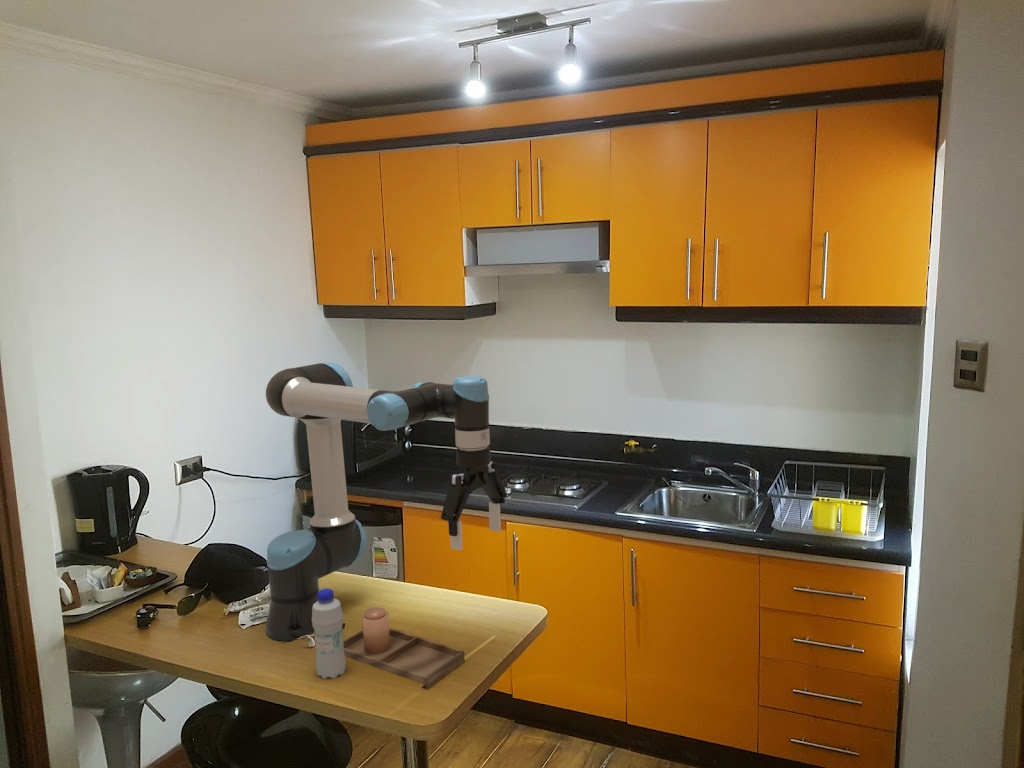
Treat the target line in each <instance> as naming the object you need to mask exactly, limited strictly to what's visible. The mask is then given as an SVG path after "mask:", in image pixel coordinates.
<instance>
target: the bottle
mask: <svg viewBox="0 0 1024 768" xmlns="http://www.w3.org/2000/svg"><path fill="white" fill-rule="evenodd" d="M334 596H335V595H334V591H333V589H331V588H327V587H326V588H322V589H319V592H318V601H317V602H316V603H314V605H313V608H312V623H313V624H312V626H313V628H314V642H315V655H316V656H315V668H316V669H315V670H316V674H317V676H319V677H321V679H323V680H326V679H328V678H330V679H336V678H337V677H338V676H342V675H344V673H345V670H346V668H347V662H346V656H345V653H344V646H343V641H344V635H343V633H344V632H343V631H344V630H343V624H344V612H343V609H342V604H341V601H340V600H339V599H337V598H334Z"/></svg>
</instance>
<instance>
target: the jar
mask: <svg viewBox="0 0 1024 768" xmlns="http://www.w3.org/2000/svg"><path fill="white" fill-rule="evenodd" d="M389 617H390V616H389V612H388V611H387V610H386V609H385V608H384V607H379V606H377V607H376V606H374V607H370V608H367V609H366V610H364V613H363V614H362V616H361V622H362V630H363V639H364V650H365V652H367V653H369V654H379V653H383V652H385V651H387V650H388V649H389V648H390V633H389V628H390V622H389V621H390V618H389Z"/></svg>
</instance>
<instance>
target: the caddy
mask: <svg viewBox="0 0 1024 768" xmlns="http://www.w3.org/2000/svg"><path fill="white" fill-rule="evenodd" d="M389 633H390V648H389V649H388V650H387V651H385V652H383V653H379V654H369V653H367V652H365V650H364V639H363V629H361V630H360V631H358V632H356V633H355V634H353V635H352V636H349V637H348V638H346V639H343V646H344V653H345V658H350V659H352V660H355V661H358V662H360V663H363V664H366V665H369V666H371V667H374V668H377V669H380V670H382V671H386V672H388V673H391V674H394V675H397V676H399V677H403V678H405V679H408V680H411V681H414V682H417V683H418V684H419V683H420V684H422V687H421V688H422V689H424V690H428V689H430V688H431V687H432V686H434V685H435V684H437V683H438V682H439V681H441V680H442V679H443V678H444V677H446V676H447V675H449V674H450V673H451V672H453V671H454V670H455V669H457V668H458V667H460V666H461V665H462V664H463V663H465V662H466V660H465V651H464V650H462V649H459V648H456V647H452V646H449V645H447V644H442V643H440V642H437V641H434V640H429V639H427V638H424V637H420V636H418V635H413V634H412V633H407V632H404V631H400V630H398V629H395V628H392V627H389Z"/></svg>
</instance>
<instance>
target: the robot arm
mask: <svg viewBox="0 0 1024 768" xmlns="http://www.w3.org/2000/svg"><path fill="white" fill-rule="evenodd" d="M452 383H453V384H448V383H447V384H446V383H440V382H439V383H437V382H433V381H427V382H417V383H415V385H413V386H412V387H411V388H408V389H404V390H397V391H395V390H394V391H393V390H384V389H383V390H382V389H376V388H375V389H374V388H367V387H366V388H365V387H357V386H356V387H355V386H354V385H353V384H354V383H353V381H352V378H351V377H350V373H348V372H347V371H346V370H345V368H344V367H342V366H341V365H339V364H338V363H335V362H321V363H320V362H319V363H318V362H317V363H314V364H308V365H302V366H298V367H290V368H286V369H283V370H280V371H278V372H276V373H275V374H274V375H273V376H272V377H271V378H270V379H269V381H268V383H267V384H266V385H267V386H266V388H265V399H266V403H267V405H269V408H270V409H271V410H272V411H273V412H275V413H276V414H278V415H280V416H284V417H290V418H296V419H298V418H299V420H300V421H301V422H302V423H304V424H305V427H306V428H305V429H306V437H307V447H308V449H307V450H308V456H309V457H308V458H309V468H310V477H311V478H310V479H311V486H312V487H311V488H312V490H311V491H312V499H313V510H314V511H313V512H314V515H313V516H312V517H311V519H310V520H309V530H307V529H297V530H293V531H287V532H284V533H282V534H279V535H278V536H276V537H275V538H273V539H272V540H271V541H270V542H269V544H268V546H267V550H266V554H267V555H266V557H267V558H266V565H267V570H268V583H269V592H270V593H269V596H270V605H269V609H268V615H267V618H266V621H265V632H266V635H267V636H268V637H269V638H270V639H273V640H275V641H282V642H292V641H296V640H298V639H299V638H301V637H306V636H309V635H311V634H315V632H314V628H313V626H312V624H313V623H312V608H313V605H314V603H316V602H317V601H318V592H319V591H320V586H319V585H320V584H319V580H320V579H322V578H325V576H328V575H331V574H333V573H335V572H337V571H339V570H342V569H343V568H348V567H350V566H351V565H352V564H354V563H356V562H358V561H359V560H360V559H361V558H362V556H363V555H364V554H365V551H366V548H367V534H366V531H365V528H362V527H363V525H362V523H361V522H360V521H359V520H357V519H356V515H355V514H354V513H352V512H351V511H350V510H349V503H348V492H347V480H346V479H347V478H346V469H345V458H344V447H343V446H344V445H343V434H342V426H341V422H342V420H343V421H349V422H355V423H356V422H357V423H363V424H370V425H371V426H372V427H374V428H375V429H376V430H377V431H381V432H386V431H394V430H395V431H396V430H398V429H400V428H403V427H407V426H410V425H413V424H417V423H420V422H425V421H429V420H432V419H435V418H441V419H442V418H444V419H454V432H455V436H454V437H455V438H454V439H455V446H456V447H457V448H456V450H455V455H456V459H455V460H456V465H457V466H458V467H459V474H453V473H451V474H450V475H449V483H448V484H449V485H448V487H447V492H446V495H445V496H446V497H445V500H444V503H443V508H442V511H441V515H440V520H441V521H447V522H448V523H447V524H448V534H449V535H448V536H450V537H449V538H450V549H452V550H457V551H462V550H463V529H462V528H463V527H462V523H463V522H462V520H460V518H461V516H462V512H463V511H464V508H465V505H466V503H467V500H468V498H469V496H470V495H472V494H473V492H474V491H475V490H477V489H479V488H481V489H482V490H483V492H484V493H485V495H487V497H488V498H489V499H490V502H488V514H489V515H488V520H489V531H494V532H498V533H500V532H501V531H502V525H501V522H502V521H501V514H502V504H505V502H506V498H507V497H508V493H507V490H506V488H505V486H504V483H503V480H502V478H501V475H500V472H499V469H498V468H499V467H498V463H497V462H494V461H491V448H490V446H489V445H490V444H491V441H490V440H491V439H490V436H491V435H490V419H489V418H490V417H489V416H490V415H489V410H490V406H489V405H490V404H489V403H490V402H489V401H490V394H489V387H488V381H487V379H486V378H485V377H483V376H481V375H480V376H479V375H464V376H463V375H462V376H457V377H455V378H454V379H453V382H452Z"/></svg>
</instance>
